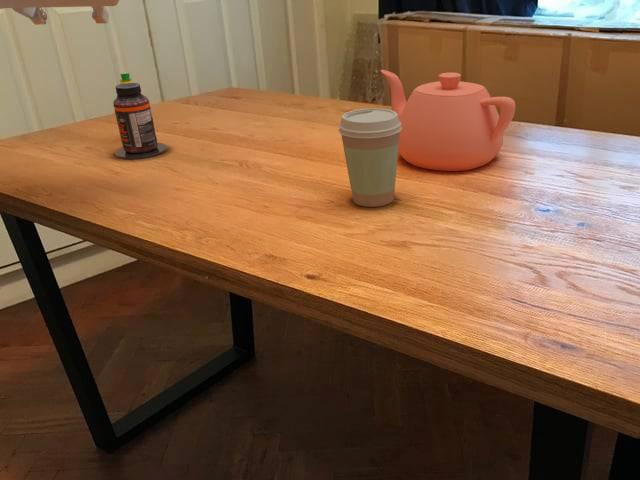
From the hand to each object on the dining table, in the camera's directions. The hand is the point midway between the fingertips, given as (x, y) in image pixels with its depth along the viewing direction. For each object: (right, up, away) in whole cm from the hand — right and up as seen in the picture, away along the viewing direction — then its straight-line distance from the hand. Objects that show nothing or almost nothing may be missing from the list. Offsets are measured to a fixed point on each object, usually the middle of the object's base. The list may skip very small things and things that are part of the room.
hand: (72, 20), depth 96 cm
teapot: (+56, -17, +14) cm, 60 cm away
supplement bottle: (+2, -14, +22) cm, 26 cm away
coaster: (+2, -15, +22) cm, 27 cm away
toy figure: (-1, -11, +29) cm, 31 cm away
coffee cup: (+44, -27, -2) cm, 51 cm away
